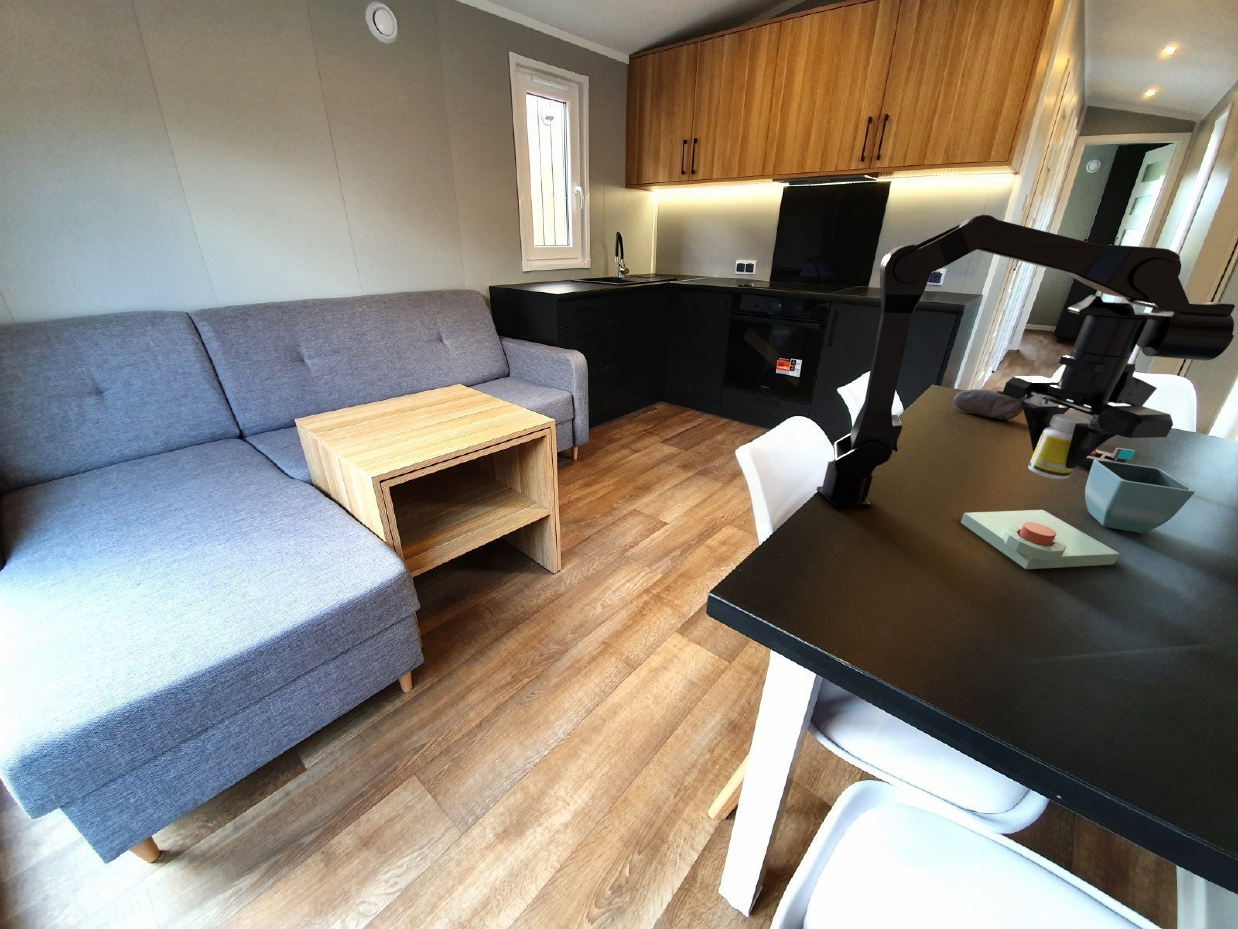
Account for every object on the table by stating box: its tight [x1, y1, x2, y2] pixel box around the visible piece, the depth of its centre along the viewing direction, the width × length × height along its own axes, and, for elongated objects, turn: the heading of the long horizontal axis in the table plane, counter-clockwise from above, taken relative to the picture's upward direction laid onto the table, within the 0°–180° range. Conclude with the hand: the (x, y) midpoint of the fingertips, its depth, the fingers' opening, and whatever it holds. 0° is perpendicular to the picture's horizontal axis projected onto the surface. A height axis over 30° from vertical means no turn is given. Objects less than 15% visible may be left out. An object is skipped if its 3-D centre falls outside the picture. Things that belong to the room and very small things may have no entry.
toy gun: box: [1077, 447, 1136, 470], centre depth 100 cm, size 10×12×5 cm
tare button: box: [1019, 522, 1056, 546], centre depth 68 cm, size 4×4×2 cm
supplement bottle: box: [1028, 413, 1091, 480], centre depth 70 cm, size 5×5×8 cm
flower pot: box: [1084, 459, 1196, 534], centre depth 77 cm, size 9×9×9 cm
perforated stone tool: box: [953, 388, 1026, 421], centre depth 126 cm, size 15×5×7 cm, turn 45°
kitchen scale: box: [960, 509, 1121, 570], centre depth 72 cm, size 15×13×4 cm
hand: (1053, 460), depth 71 cm, fingers closed on supplement bottle, 5 cm apart
